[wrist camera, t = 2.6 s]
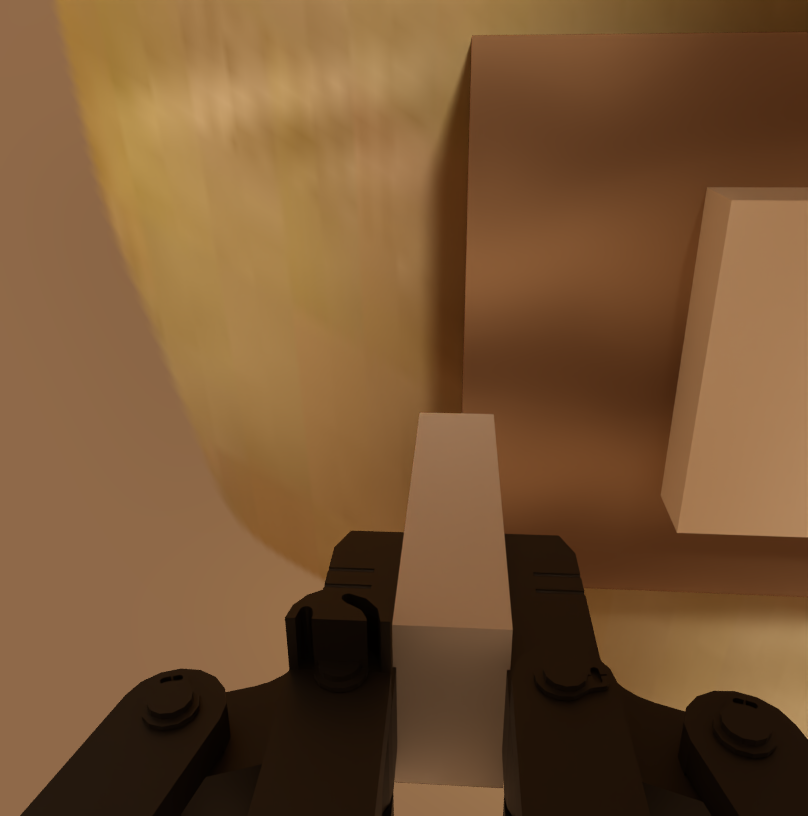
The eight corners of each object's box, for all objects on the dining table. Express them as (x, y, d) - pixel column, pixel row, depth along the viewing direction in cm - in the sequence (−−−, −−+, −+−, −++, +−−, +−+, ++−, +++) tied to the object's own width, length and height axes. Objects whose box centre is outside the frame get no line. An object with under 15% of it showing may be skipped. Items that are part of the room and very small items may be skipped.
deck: (471, 39, 22) (472, 35, 18) (1222, 31, 21) (1383, 25, 17) (459, 516, 29) (457, 582, 25) (1026, 535, 27) (1113, 609, 23)
